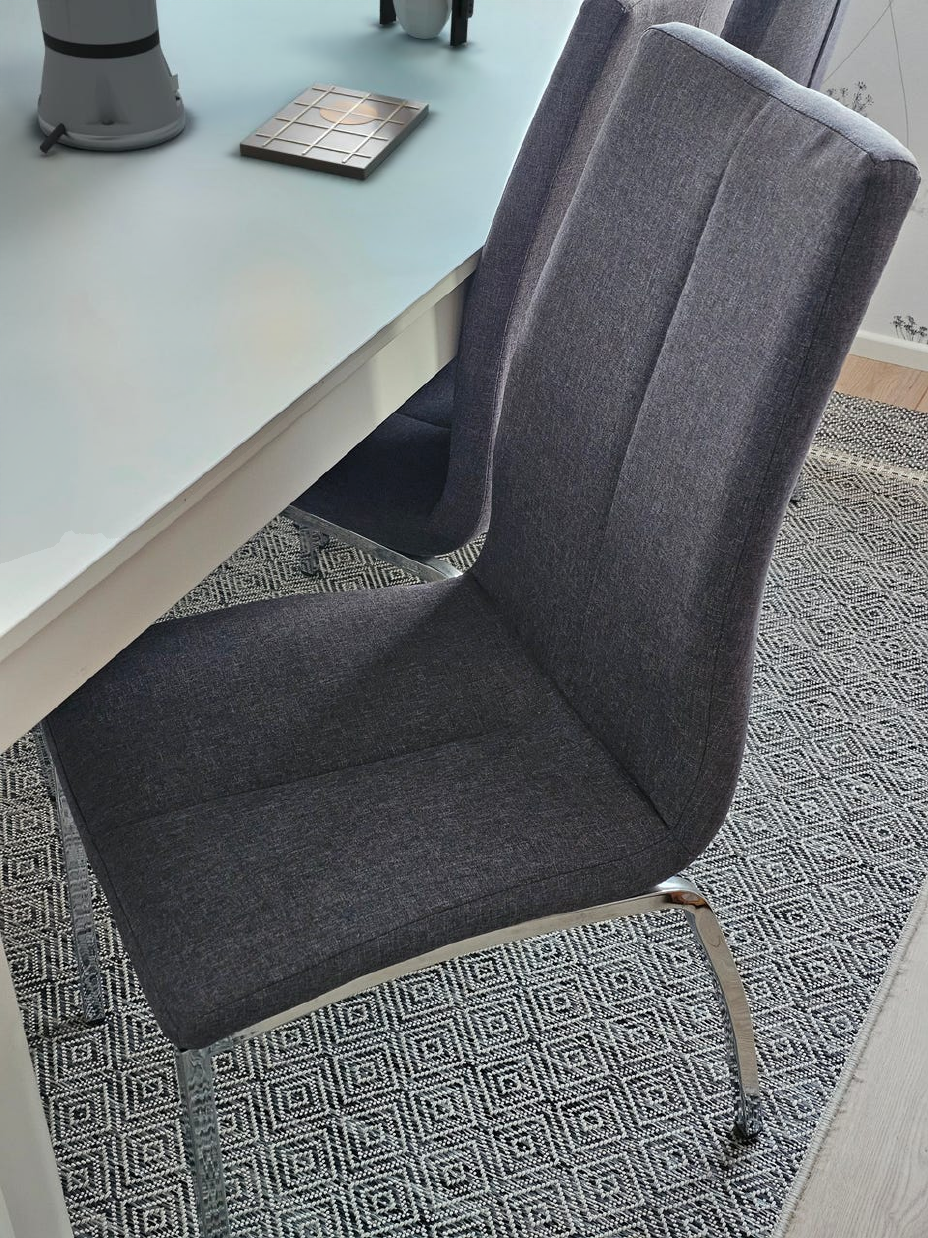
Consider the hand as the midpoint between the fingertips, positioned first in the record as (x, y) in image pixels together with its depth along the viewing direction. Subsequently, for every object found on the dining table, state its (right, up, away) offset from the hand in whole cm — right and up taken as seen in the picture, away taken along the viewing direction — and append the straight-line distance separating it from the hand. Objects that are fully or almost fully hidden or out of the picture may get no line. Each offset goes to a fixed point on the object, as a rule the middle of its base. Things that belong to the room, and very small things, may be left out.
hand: (422, 32), depth 157 cm
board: (-8, -23, -25) cm, 36 cm away
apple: (0, 0, 0) cm, 0 cm away
